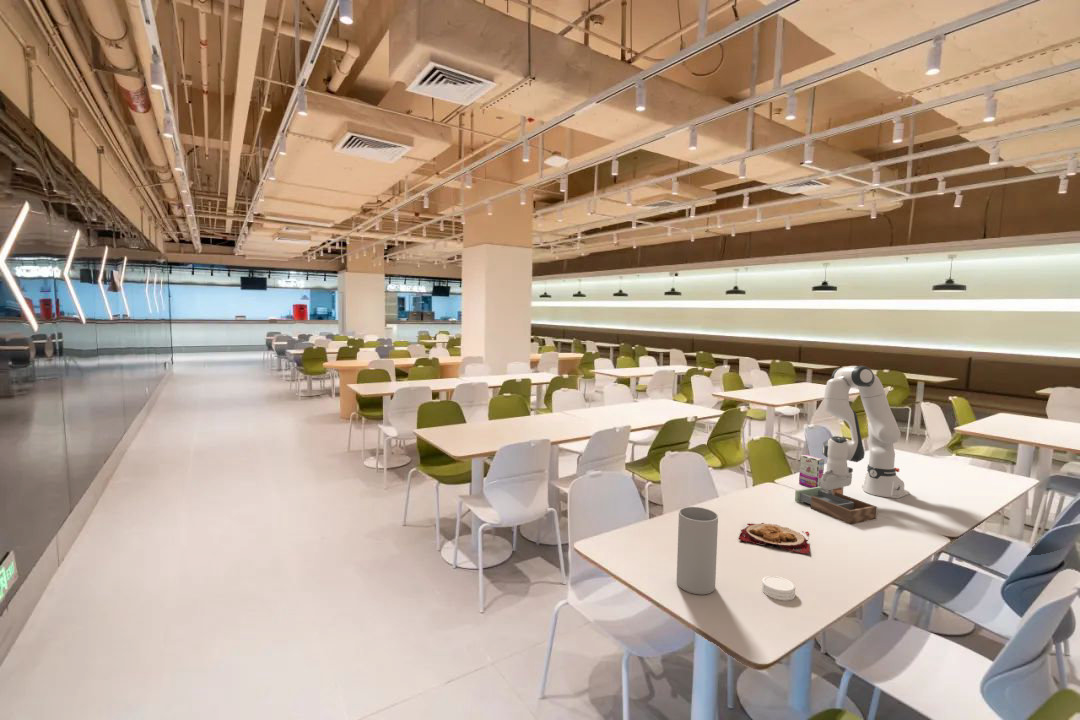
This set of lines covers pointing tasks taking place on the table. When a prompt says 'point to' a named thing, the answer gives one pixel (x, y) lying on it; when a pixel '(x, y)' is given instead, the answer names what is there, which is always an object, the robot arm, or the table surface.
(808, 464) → the candy bar box
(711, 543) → the cylinder vase
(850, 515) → the organiser housing
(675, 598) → the table surface
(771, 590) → the coaster
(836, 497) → the grey drawer
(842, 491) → the terracotta block
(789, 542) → the plate with food
